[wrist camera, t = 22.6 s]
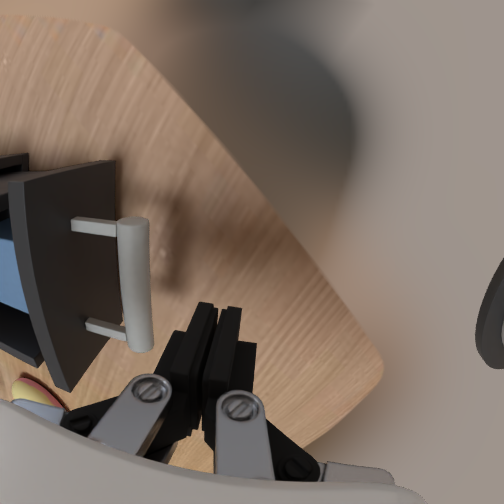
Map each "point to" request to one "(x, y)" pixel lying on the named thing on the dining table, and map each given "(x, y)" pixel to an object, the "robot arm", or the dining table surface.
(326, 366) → the dining table surface
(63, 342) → the dark grey drawer
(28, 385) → the donut
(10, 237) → the block
